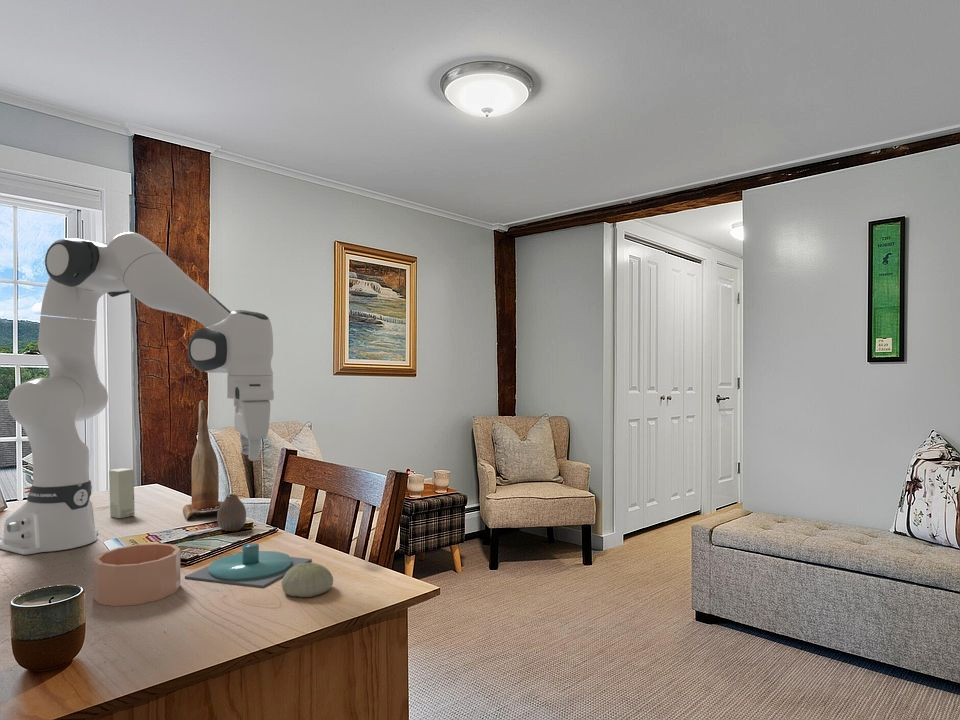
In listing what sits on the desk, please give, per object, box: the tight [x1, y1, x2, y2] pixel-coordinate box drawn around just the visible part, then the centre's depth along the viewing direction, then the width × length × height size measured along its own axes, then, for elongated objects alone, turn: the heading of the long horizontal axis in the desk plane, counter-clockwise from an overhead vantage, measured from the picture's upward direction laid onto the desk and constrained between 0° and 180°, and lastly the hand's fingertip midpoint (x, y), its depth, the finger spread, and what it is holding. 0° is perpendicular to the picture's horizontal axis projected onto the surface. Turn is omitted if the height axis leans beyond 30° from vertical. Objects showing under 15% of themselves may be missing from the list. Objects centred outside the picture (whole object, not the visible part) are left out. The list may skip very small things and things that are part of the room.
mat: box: [184, 551, 312, 589], centre depth 134 cm, size 18×17×1 cm
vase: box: [216, 493, 247, 532], centre depth 165 cm, size 7×7×9 cm
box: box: [108, 467, 136, 519], centre depth 179 cm, size 5×4×13 cm
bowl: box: [93, 542, 181, 607], centre depth 122 cm, size 14×14×7 cm
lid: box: [208, 542, 292, 581], centre depth 134 cm, size 16×16×4 cm
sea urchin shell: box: [281, 562, 334, 598], centre depth 122 cm, size 9×8×8 cm
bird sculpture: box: [182, 399, 223, 521], centre depth 181 cm, size 11×12×32 cm
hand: (249, 456), depth 134 cm, fingers open, 8 cm apart
